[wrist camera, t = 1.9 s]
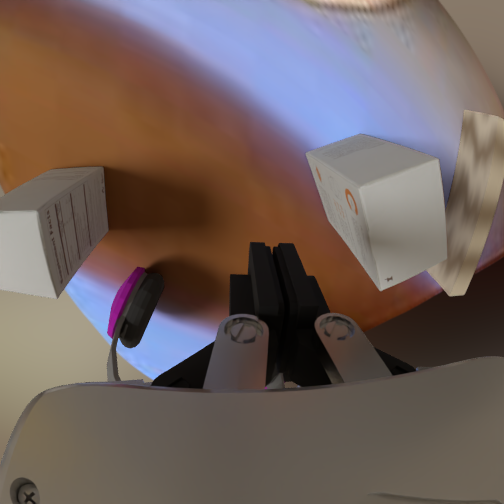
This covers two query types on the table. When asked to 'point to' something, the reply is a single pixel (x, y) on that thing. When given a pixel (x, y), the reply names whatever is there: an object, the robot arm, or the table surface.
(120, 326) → the headphones
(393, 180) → the small box
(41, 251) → the supplement box
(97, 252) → the table surface
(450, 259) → the birch board
